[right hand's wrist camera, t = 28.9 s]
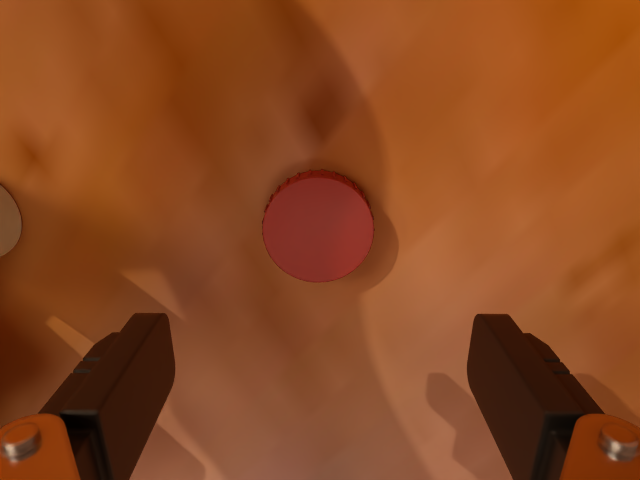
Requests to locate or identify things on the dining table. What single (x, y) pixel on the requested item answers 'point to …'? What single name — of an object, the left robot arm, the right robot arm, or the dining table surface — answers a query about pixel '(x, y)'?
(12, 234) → the jar
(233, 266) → the dining table surface
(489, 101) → the dining table surface
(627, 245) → the dining table surface
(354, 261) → the lid
